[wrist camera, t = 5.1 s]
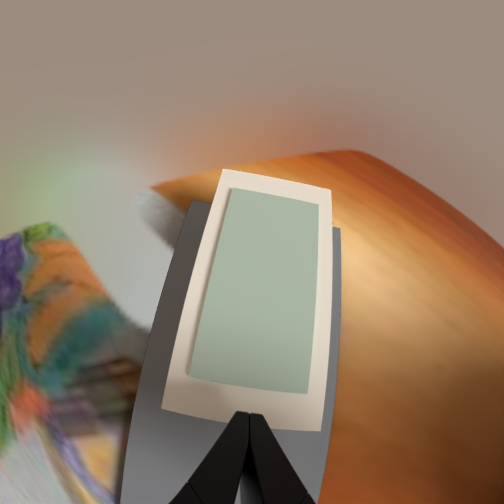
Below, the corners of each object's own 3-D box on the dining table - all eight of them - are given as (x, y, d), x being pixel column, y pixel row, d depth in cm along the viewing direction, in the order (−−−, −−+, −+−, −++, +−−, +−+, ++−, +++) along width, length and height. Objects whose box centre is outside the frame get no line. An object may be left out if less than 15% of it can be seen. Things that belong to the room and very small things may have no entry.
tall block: (322, 431, 8) (332, 187, 15) (159, 408, 8) (223, 165, 14) (289, 422, 13) (307, 238, 19) (179, 405, 13) (221, 222, 19)
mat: (303, 536, 9) (307, 541, 9) (123, 510, 9) (119, 514, 9) (336, 234, 21) (340, 228, 20) (192, 207, 20) (191, 200, 20)
